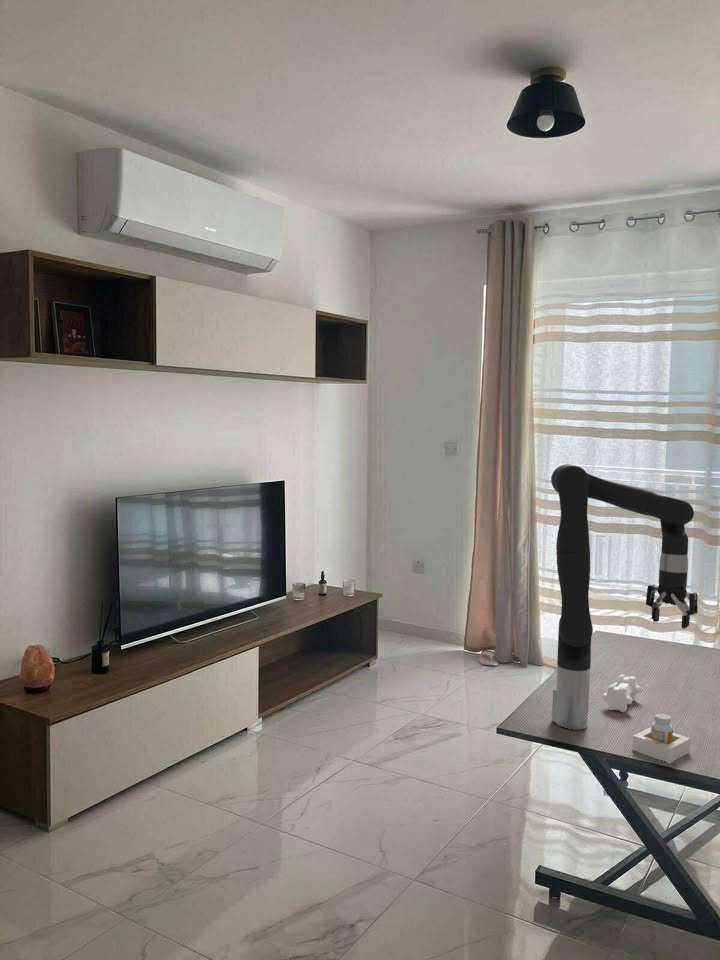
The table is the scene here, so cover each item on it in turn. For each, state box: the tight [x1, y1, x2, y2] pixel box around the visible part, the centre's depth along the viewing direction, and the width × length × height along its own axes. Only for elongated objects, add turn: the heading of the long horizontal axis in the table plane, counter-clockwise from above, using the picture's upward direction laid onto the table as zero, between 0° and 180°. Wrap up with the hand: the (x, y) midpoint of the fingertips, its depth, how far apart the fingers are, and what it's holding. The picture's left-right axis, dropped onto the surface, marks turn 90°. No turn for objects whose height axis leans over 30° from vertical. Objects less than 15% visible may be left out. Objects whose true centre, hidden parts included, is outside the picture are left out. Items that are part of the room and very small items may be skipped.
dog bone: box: [602, 674, 642, 713], centre depth 247 cm, size 15×9×8 cm, turn 148°
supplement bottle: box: [650, 713, 674, 745], centre depth 213 cm, size 5×5×10 cm
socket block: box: [631, 726, 691, 763], centre depth 213 cm, size 11×11×4 cm
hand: (670, 624), depth 228 cm, fingers open, 8 cm apart
